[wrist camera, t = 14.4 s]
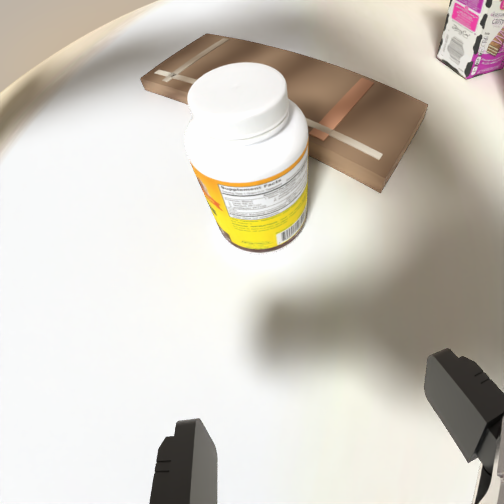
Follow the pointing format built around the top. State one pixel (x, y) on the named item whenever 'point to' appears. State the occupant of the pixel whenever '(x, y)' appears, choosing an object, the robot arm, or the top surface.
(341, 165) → the walnut board
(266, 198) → the supplement bottle
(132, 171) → the top surface
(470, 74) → the candy bar box
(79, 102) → the top surface
